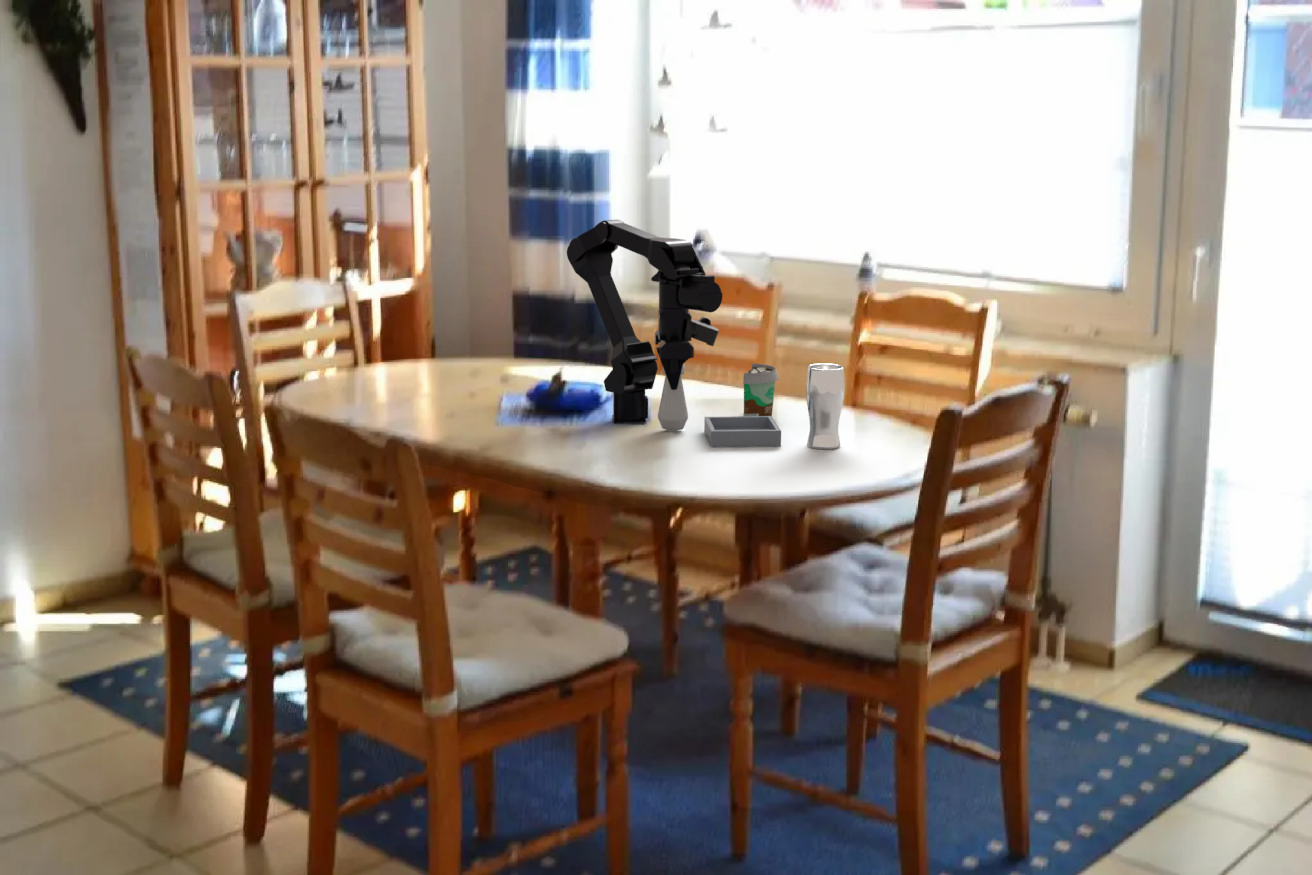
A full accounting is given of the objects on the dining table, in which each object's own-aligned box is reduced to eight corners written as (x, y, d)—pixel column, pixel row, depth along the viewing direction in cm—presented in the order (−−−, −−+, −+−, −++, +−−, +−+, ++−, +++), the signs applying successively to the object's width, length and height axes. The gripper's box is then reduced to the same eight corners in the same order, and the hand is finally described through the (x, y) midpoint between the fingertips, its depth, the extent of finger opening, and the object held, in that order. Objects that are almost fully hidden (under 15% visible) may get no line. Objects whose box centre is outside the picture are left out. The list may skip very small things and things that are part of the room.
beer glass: (832, 452, 286) (834, 371, 283) (798, 447, 290) (800, 367, 286) (848, 444, 292) (851, 365, 289) (815, 440, 296) (817, 362, 292)
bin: (711, 447, 289) (711, 431, 289) (704, 431, 302) (704, 416, 301) (780, 446, 290) (781, 430, 290) (771, 431, 303) (771, 416, 302)
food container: (773, 424, 309) (774, 374, 307) (742, 423, 310) (743, 373, 308) (781, 412, 321) (782, 364, 319) (751, 410, 322) (752, 362, 320)
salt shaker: (666, 432, 299) (667, 365, 296) (652, 426, 304) (653, 360, 301) (693, 429, 301) (694, 363, 299) (679, 424, 306) (679, 358, 304)
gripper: (721, 313, 289) (720, 396, 292) (711, 300, 307) (710, 378, 310) (661, 314, 288) (660, 397, 292) (654, 300, 306) (654, 378, 310)
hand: (673, 387), depth 301 cm, fingers closed on salt shaker, 4 cm apart
